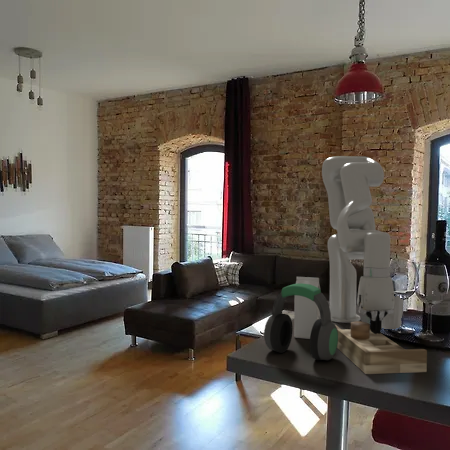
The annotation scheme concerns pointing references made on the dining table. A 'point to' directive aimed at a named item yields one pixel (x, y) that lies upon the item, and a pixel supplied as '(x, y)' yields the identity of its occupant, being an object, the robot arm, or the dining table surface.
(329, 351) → the headphones
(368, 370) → the wooden compartment tray
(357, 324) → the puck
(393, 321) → the cup
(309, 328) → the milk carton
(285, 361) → the dining table surface
